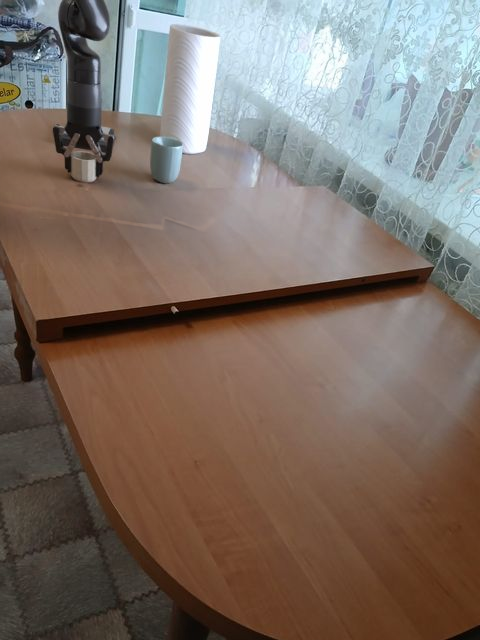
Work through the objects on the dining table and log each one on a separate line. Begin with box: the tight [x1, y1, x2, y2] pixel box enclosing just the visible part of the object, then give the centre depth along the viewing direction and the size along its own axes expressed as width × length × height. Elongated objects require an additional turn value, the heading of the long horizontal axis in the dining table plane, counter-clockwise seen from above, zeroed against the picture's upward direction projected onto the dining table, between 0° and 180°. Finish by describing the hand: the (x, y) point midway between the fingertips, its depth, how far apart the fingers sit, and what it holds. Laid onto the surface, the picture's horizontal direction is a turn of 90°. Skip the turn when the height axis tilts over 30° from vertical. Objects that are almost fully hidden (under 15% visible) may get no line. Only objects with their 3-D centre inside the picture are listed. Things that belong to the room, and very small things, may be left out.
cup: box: [149, 135, 183, 184], centre depth 140 cm, size 8×8×10 cm
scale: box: [62, 123, 115, 153], centre depth 154 cm, size 13×15×3 cm
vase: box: [159, 23, 221, 155], centre depth 158 cm, size 14×14×32 cm
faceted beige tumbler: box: [70, 150, 98, 183], centre depth 132 cm, size 6×6×6 cm
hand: (84, 173), depth 133 cm, fingers closed on faceted beige tumbler, 6 cm apart
